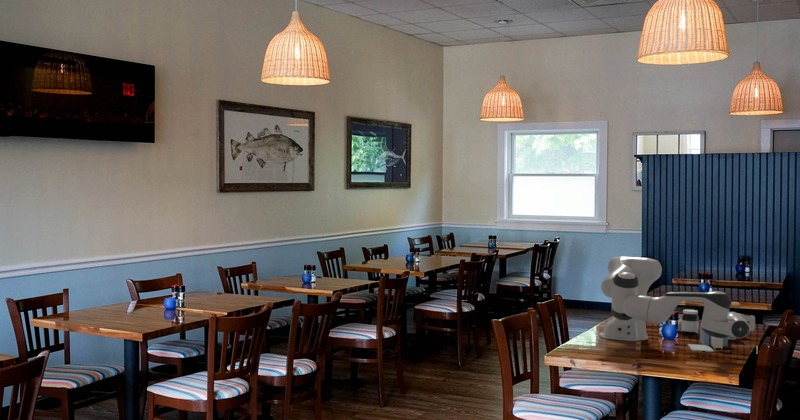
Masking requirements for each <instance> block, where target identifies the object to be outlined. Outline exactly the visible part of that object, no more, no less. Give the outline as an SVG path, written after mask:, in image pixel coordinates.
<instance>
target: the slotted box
mask: <svg viewBox="0 0 800 420" xmlns="http://www.w3.org/2000/svg"><path fill="white" fill-rule="evenodd" d="M699 342H700V344H701V345H709V346H710V344H709V335H708V334H706V333H705V332H704V331H703V330H702V328H701V324H699ZM728 344H729V340H728V337H726V338H723V347H726V348H727V347H728Z"/></svg>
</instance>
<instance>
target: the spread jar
mask: <svg viewBox="0 0 800 420" xmlns="http://www.w3.org/2000/svg"><path fill="white" fill-rule="evenodd" d="M682 313H683V314H682V316H681V318H679V319H678V320H677V321H678V331H677V332H681V334H683V335H687V334H690V335H689V336H696V334H697V335H698V333H699V329H700V324H699V321H700V319H699V318H700V317H699V315H698V313H699V311H698V310H697V309H696V310H695V309H683V310H682Z"/></svg>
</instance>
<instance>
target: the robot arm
mask: <svg viewBox="0 0 800 420" xmlns="http://www.w3.org/2000/svg"><path fill="white" fill-rule="evenodd" d="M659 261H660V260H657V259H653V258H650V257H641V256H640V257H639V256H624V255H622V256H621V255H620V256H613V257H611V258H610V259H609V261H608V264H607V271H608V274H607V275H606V276H605V277H604V279H603V280H602V282H601V284H600V289H601V292H602V294H603V295H604V296H606V297H607V298H610V299H611V307H610V311H611V315H612V317H613V318H611V319H610V320H609V321H606V324H604V325H605V326H604V328H603V331H602V332H600V333H599V335H598V336H599V337H600V338H602V339H606V340H615V341H616V340H617V341H628V342H638V341H647V340H648V339H649V336H648V333H647V327H646V326H647V325H646V323H651V324H659V325H660V324H663V323H665V322H666V321H668V320H669V319H670V318H671V316H672V314H673V313H674V311H675V310H676V308H677V307H678V306H679V305H680V304H681V303H683V302H701V303H704V305H703V312H702V318H701V323H700V325H701V328H702V330H703V331H704V332H705V333H706V334H708V335H710V336H713V337H717V338H726V337H729V336H732V337H735V338H736V339H743V338H745V337H747V336H748V334H749V333H750V332H754V331H755V327H756V317H755V315H752V314H751V315H750V314H742V313H738V312H736V311H730V309H731V307H732V299H731V297H730V296H729V294H728V293H726V292H723V291H719V290H717V291H716V290H714V291H668V292H665V294H664V295H662V296H649V295H647V294H648V291H649V288H650V287H651V285H653V283H654V282H656V281H657V280H658V279H659V278H660V277H661V276H662V271H663V268H662V265H661V263H660V262H659Z"/></svg>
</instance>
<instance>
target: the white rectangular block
mask: <svg viewBox="0 0 800 420" xmlns="http://www.w3.org/2000/svg"><path fill="white" fill-rule="evenodd" d="M710 345H711V346H712V347H713V348H712V347H711V346H710ZM709 346H710V347H711V348H712V349H716V348H721V349H720V350H723V347H724V346H723V338H717V337H713V336H710V335H709Z"/></svg>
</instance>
